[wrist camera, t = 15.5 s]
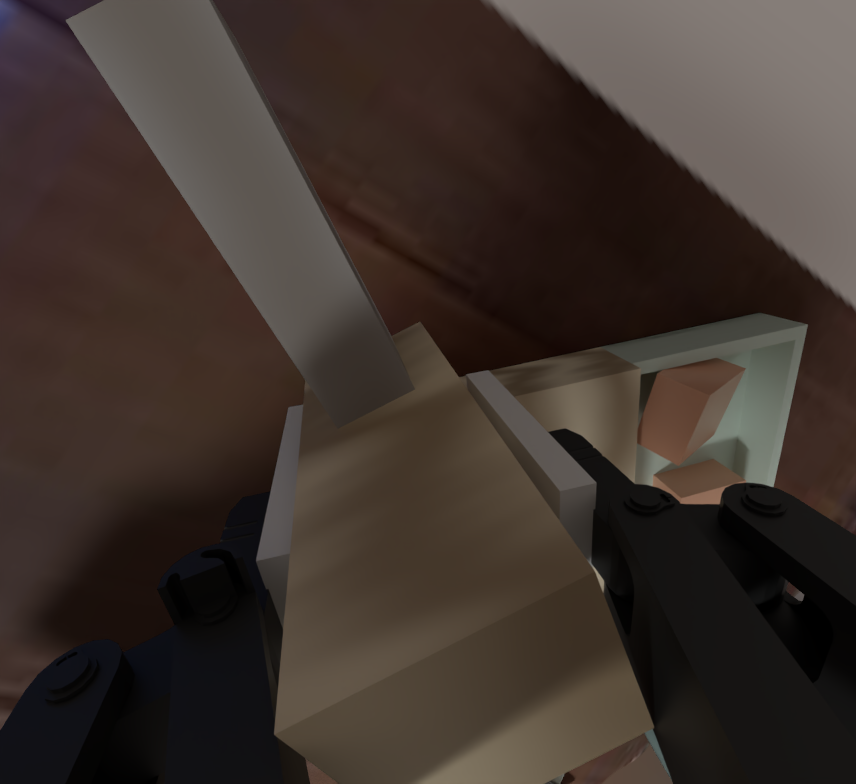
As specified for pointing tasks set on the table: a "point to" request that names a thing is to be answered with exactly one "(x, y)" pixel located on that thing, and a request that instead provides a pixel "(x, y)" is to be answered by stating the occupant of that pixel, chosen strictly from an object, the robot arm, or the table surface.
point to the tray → (752, 400)
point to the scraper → (378, 470)
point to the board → (582, 401)
